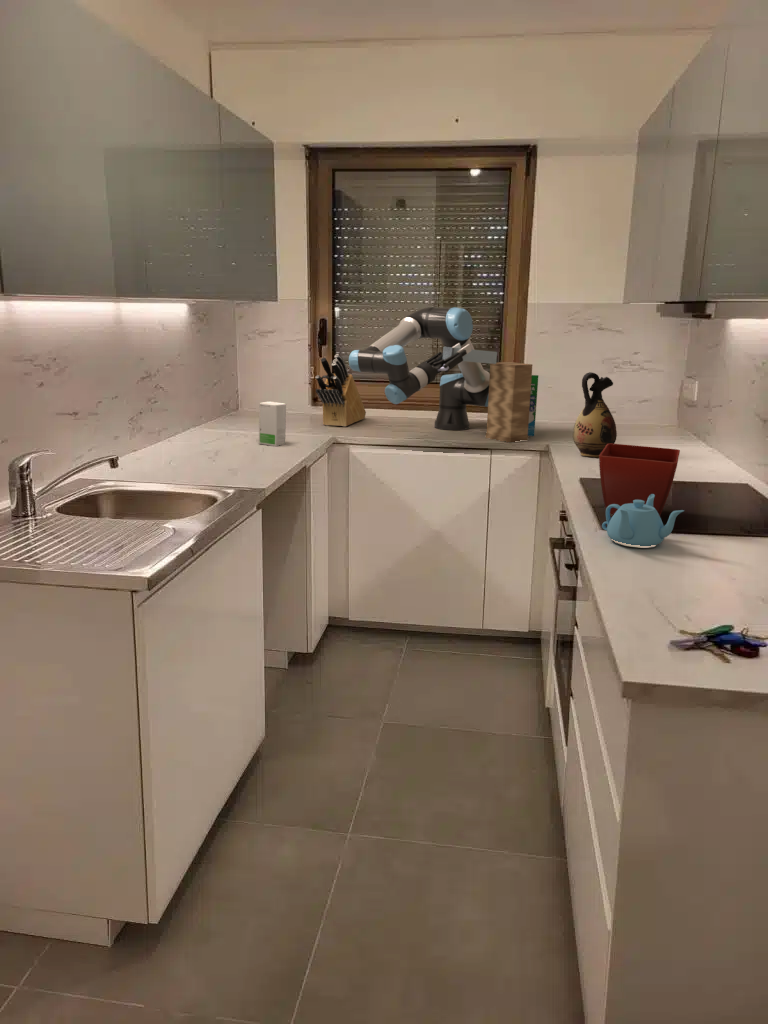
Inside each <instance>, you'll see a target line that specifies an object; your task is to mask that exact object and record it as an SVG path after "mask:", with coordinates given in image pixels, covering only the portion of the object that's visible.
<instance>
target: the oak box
mask: <svg viewBox="0 0 768 1024" xmlns="http://www.w3.org/2000/svg"><path fill="white" fill-rule="evenodd" d="M489 366H490V367H489V374H490V379H489V397H488V407H487V419H486V432H485V439H488V438H490V439H489V440H493V439H496V440H495V441H498V440H500V442H503V441H506V442H505V443H508V442H514V443H516V442H515V441H520V440H528V441H529V436H528V423H529V408H530V394H531V379H532V375H533V364H531V363H522V362H514V361H512V362H511V361H499V362H497V361H496V364H490V363H489Z"/></svg>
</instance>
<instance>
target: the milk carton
mask: <svg viewBox="0 0 768 1024" xmlns="http://www.w3.org/2000/svg"><path fill="white" fill-rule="evenodd" d="M538 385H539V375H537V374H532V379H531V394H530V408H529V423H528V437H535V432H536V431H535V429H536V428H535V427H536V417H537V415H536V414H537V399H538V387H539V386H538Z"/></svg>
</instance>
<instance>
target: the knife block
mask: <svg viewBox="0 0 768 1024" xmlns="http://www.w3.org/2000/svg"><path fill="white" fill-rule="evenodd" d="M320 361H321V366H322V368H323V370H324V372H325V373H326V375H325V374H324V375H322V376H320V375H316V376H315V377H314V378H315V379H316V380H317V384H318V386H319V388H320V389H319V388H316V389H315V394H317V396H318V399H320V401H321V403H322V423H323V426H325V427H326V426H327V427H328V426H335V427H336V426H342V427H344V428H347V426H350V425H352V424H354V423H356V422H359V421H362V420H365V418H366V413H367V412H366V408H365V406H364V404H363V401H362V397H361V395H360V392H359V390H358V387H357V385H356V382H355V380H354V376H353V375H352V374H349V372H348V369H347V366H346V362H345V360H344V359H343V357H342V356H341V355H340V354H339V353H336V354H335V355H334V359H333V360H332V363H331V366H332V367H333V372H334V373H333V372H332V371H331V367H330V365H329V361H328V360H327V358H326V357H322V358H321V359H320ZM323 379H326V380H325V381H324V380H323Z"/></svg>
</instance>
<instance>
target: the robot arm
mask: <svg viewBox="0 0 768 1024" xmlns="http://www.w3.org/2000/svg"><path fill="white" fill-rule="evenodd" d="M473 322H474V321H473V318H472V315H471V313H470V312H469V311H468V310H467V309H465V308H463V307H462V308H460V307H457V306H456V307H437V306H435V307H434V306H429V307H428V306H427V307H423V308H420V309H418V310H415V311H414V312H411V313H409V314H408V315H406V316H405V317H403V318H402V319H401V320H400V322H399V324H398V325H397V326H395V327H394V328H392V329H391V330H390V331H388V332H387V333H386V334H384V335H382V337H380V338H379V339H377V340H376V341H374V342H373V343H372V344H370V345H369V346H367V347H366V348H364V349H354V350H352V351H351V352H350V354H349V356H348V364H349V367H350V369H351V370H352V371H354V372H359V373H371V374H372V373H373V374H385V375H387V378H388V382H389V384H387V385H386V386H385V387H384V394H385V397H386V399H387V400H388V401H389V403H391V404H394V405H399V404H401V403H402V402H404V401H406V400H407V399H408V398H410V397H412V396H413V395H414V394H416V393H417V392H420V391H421V390H422V389H423V388H425V387H427V385H429V384H431V383H432V382H434V381H435V380H436V377H437V374H440V373H442V372H445V373H449V371H450V370H451V369H453V368H455V367H456V366H458V369H459V371H460V372H459V373H450V374H443V375H442V376H441V377H440V382H439V402H438V403H439V405H438V407H439V408H438V412H437V415H436V417H435V421H434V428H436V429H438V430H439V429H440V430H447V431H461V430H468V429H470V421H469V416H468V412H467V406H477V407H485V408H488V397H489V379H490V371H489V372H488V370H485V369H484V367H483V365H482V363H479V362H467V361H463V356H465V355H466V354H468V353H469V352H471V349H472V350H476V349H475V347H474V345H473V343H472V341H471V339H470V338H471V336H472V333H473V330H474V329H473V328H474V324H473ZM420 339H438V340H440V341H441V343H442V344H443V345H442V346H443V347H453V348H462V349H460V350H459V351H457V353H456V354H454V355H452V356H450V357H448V358H447V359H445V360H443V359H442V357H443V352H442V351H439V352H437V353H435V354H434V355H433V356H431V357H429V358H428V359H427V360H425V361H423V362H421V363H420V364H418V365H417V366H416V367H414V368H412V369H411V370H410V369H409V365H408V358H407V355H406V353H405V349H404V347H406V346H407V345H408V344H409V343H411V342H413V343H414V342H417V341H418V340H420Z"/></svg>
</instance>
